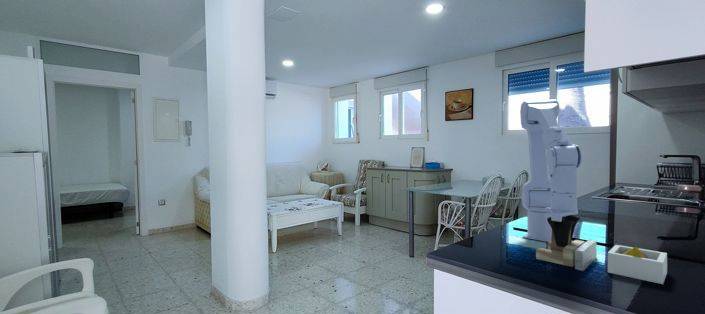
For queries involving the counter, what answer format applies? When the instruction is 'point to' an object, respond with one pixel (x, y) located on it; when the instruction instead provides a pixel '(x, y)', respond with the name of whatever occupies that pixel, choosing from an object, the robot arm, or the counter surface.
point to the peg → (554, 246)
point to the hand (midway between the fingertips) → (563, 244)
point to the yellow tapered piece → (634, 253)
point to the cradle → (560, 254)
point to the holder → (638, 264)
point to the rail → (585, 255)
